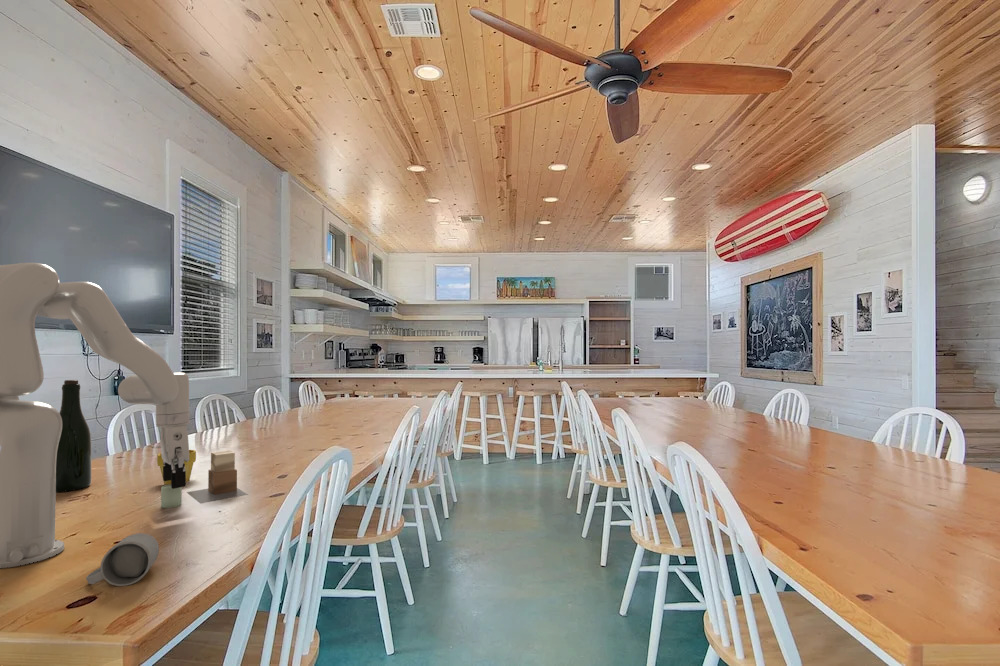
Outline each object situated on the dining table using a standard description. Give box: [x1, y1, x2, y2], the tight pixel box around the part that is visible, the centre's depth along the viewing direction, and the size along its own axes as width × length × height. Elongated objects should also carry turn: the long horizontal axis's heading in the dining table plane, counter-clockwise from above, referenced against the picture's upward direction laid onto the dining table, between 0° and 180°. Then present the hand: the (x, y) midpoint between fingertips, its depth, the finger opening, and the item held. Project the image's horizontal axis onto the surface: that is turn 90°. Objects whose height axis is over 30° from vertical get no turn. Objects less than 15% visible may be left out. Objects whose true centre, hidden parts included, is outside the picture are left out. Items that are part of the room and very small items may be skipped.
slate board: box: [186, 487, 248, 504], centre depth 150 cm, size 15×12×1 cm
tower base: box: [207, 468, 238, 495], centre depth 153 cm, size 6×6×6 cm
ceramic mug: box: [85, 532, 160, 587], centre depth 97 cm, size 11×8×8 cm
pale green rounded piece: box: [160, 484, 183, 509], centre depth 139 cm, size 5×5×6 cm
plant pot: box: [156, 449, 197, 486], centre depth 165 cm, size 10×10×10 cm
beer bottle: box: [56, 379, 92, 493], centre depth 161 cm, size 10×10×33 cm
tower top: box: [210, 449, 236, 473], centre depth 153 cm, size 5×5×5 cm
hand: (174, 483), depth 140 cm, fingers open, 9 cm apart
